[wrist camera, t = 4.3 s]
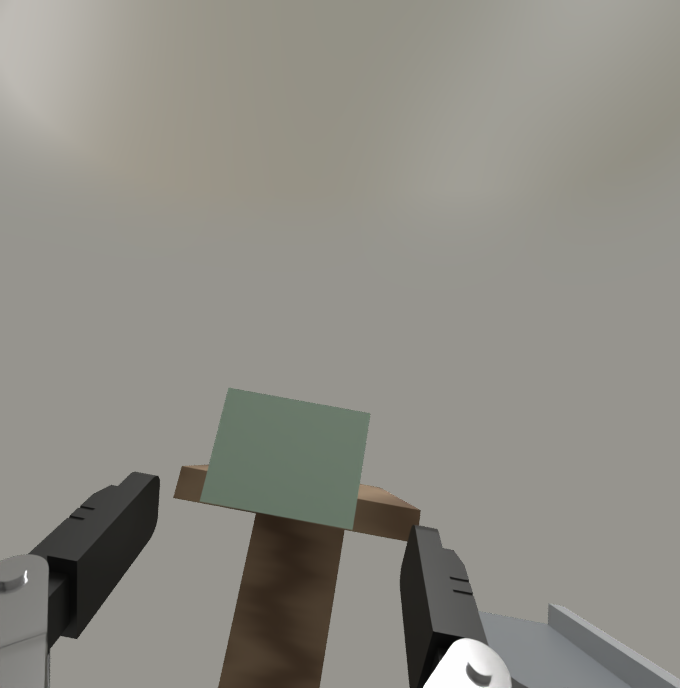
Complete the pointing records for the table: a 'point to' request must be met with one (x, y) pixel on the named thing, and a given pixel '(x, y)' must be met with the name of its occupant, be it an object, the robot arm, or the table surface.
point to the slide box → (287, 458)
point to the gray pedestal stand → (569, 654)
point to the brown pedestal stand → (292, 587)
